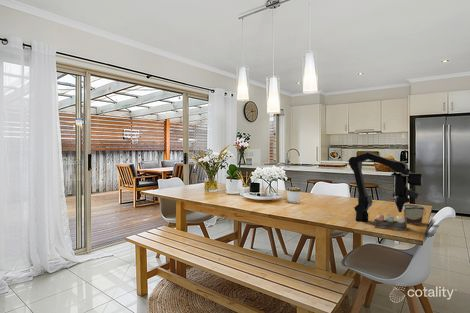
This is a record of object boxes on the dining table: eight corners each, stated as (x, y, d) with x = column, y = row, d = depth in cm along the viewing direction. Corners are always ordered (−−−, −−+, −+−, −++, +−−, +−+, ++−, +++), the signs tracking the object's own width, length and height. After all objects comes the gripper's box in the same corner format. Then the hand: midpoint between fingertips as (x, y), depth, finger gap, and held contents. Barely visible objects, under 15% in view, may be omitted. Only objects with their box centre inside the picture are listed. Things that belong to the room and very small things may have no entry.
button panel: (375, 227, 155) (375, 222, 155) (374, 223, 164) (374, 218, 163) (407, 230, 149) (407, 225, 149) (404, 226, 157) (404, 221, 157)
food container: (417, 220, 170) (417, 204, 170) (424, 223, 164) (424, 206, 164) (397, 220, 170) (397, 204, 169) (403, 223, 164) (404, 206, 163)
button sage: (386, 222, 155) (386, 216, 155) (385, 220, 159) (386, 215, 159) (394, 223, 154) (394, 217, 154) (393, 221, 157) (393, 216, 157)
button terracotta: (376, 221, 157) (376, 216, 157) (376, 220, 161) (376, 214, 161) (384, 222, 156) (384, 216, 156) (383, 220, 159) (383, 215, 159)
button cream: (396, 223, 153) (396, 217, 153) (395, 221, 157) (395, 216, 157) (404, 224, 152) (404, 218, 152) (403, 222, 155) (403, 216, 155)
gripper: (421, 187, 143) (421, 217, 144) (414, 183, 160) (413, 209, 161) (396, 186, 148) (396, 215, 148) (392, 182, 165) (391, 208, 165)
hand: (400, 212), depth 155 cm, fingers closed
